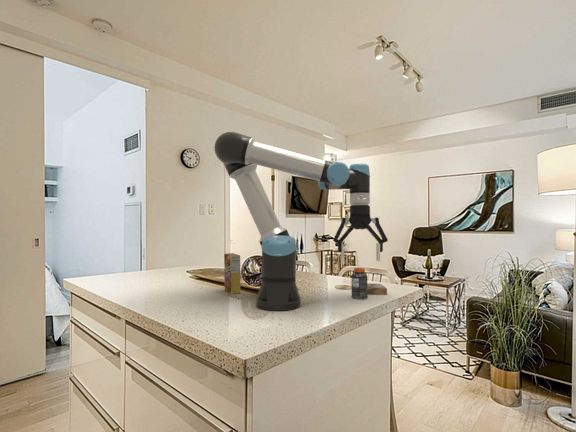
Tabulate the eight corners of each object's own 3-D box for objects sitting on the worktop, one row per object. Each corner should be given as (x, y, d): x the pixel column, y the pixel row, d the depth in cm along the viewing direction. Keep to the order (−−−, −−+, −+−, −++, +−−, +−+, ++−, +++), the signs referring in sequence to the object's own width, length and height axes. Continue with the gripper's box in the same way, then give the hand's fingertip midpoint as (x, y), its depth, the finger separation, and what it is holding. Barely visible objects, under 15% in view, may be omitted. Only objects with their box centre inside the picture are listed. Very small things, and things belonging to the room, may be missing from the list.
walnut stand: (361, 294, 131) (361, 287, 131) (356, 289, 141) (356, 283, 141) (386, 294, 131) (386, 287, 131) (380, 289, 141) (380, 283, 141)
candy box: (223, 290, 137) (223, 253, 137) (233, 289, 139) (233, 252, 139) (230, 294, 129) (230, 255, 129) (240, 293, 131) (241, 254, 131)
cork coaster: (336, 289, 140) (336, 288, 140) (333, 285, 148) (333, 284, 148) (354, 289, 140) (354, 288, 140) (351, 286, 148) (351, 284, 148)
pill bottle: (366, 296, 128) (366, 266, 128) (368, 299, 122) (368, 269, 122) (350, 295, 128) (350, 266, 128) (352, 299, 122) (352, 268, 122)
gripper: (328, 204, 122) (328, 261, 122) (395, 204, 122) (396, 261, 121) (326, 205, 130) (326, 259, 129) (390, 205, 129) (390, 259, 129)
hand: (360, 260), depth 125 cm, fingers open, 13 cm apart
